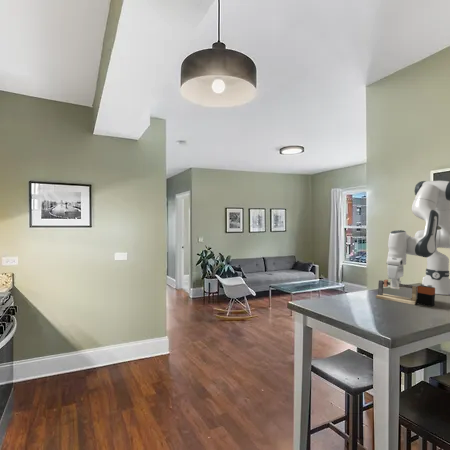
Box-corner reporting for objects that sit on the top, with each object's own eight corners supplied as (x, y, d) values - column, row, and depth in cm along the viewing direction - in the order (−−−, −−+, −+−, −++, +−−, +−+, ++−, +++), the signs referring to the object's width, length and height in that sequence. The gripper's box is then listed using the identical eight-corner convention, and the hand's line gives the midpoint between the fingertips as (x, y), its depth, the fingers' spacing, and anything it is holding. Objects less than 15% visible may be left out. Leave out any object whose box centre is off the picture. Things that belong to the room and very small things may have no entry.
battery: (431, 306, 152) (432, 286, 152) (416, 303, 157) (417, 284, 157) (434, 305, 154) (435, 285, 154) (419, 302, 160) (420, 283, 160)
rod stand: (380, 295, 173) (381, 278, 173) (417, 301, 161) (418, 283, 162) (375, 297, 166) (376, 279, 166) (414, 304, 154) (415, 285, 154)
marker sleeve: (392, 287, 167) (392, 279, 167) (400, 288, 164) (400, 280, 164) (390, 288, 164) (390, 280, 164) (398, 289, 161) (399, 281, 161)
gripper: (394, 258, 174) (393, 283, 174) (385, 260, 158) (384, 287, 158) (407, 260, 170) (406, 284, 170) (399, 262, 154) (398, 289, 154)
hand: (395, 286), depth 164 cm, fingers closed on marker sleeve, 4 cm apart
